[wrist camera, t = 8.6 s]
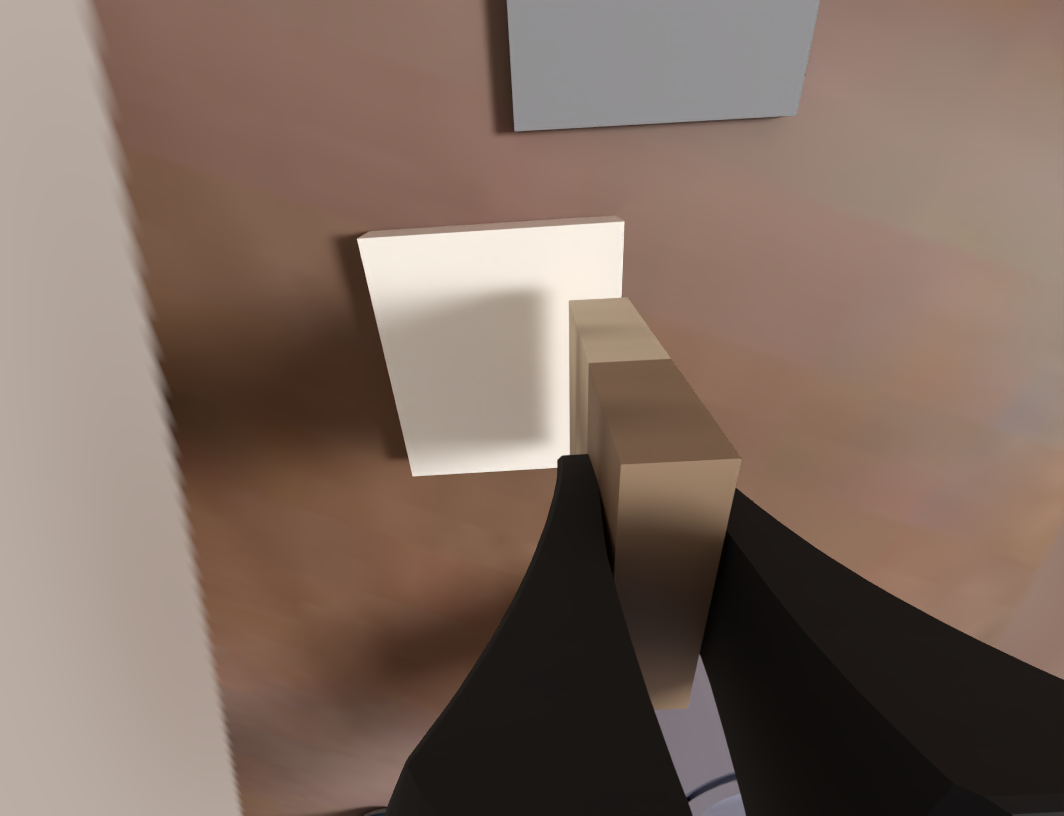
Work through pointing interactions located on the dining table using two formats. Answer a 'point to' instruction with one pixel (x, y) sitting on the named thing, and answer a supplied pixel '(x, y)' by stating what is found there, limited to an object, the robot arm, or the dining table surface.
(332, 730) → the dining table surface
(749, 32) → the mat
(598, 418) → the stepped beige block
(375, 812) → the soda can
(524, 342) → the tile
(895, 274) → the dining table surface
